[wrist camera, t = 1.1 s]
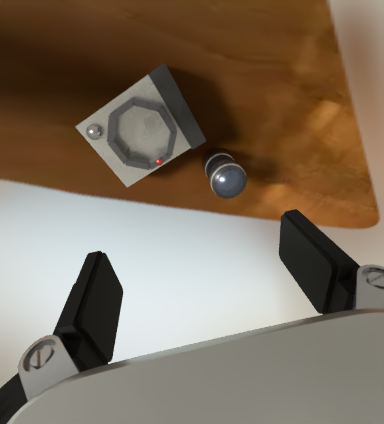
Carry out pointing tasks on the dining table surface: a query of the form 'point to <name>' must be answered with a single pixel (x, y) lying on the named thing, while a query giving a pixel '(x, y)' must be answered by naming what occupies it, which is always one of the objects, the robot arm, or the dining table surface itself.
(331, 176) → the dining table surface
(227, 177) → the lens
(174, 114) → the grey striped block
